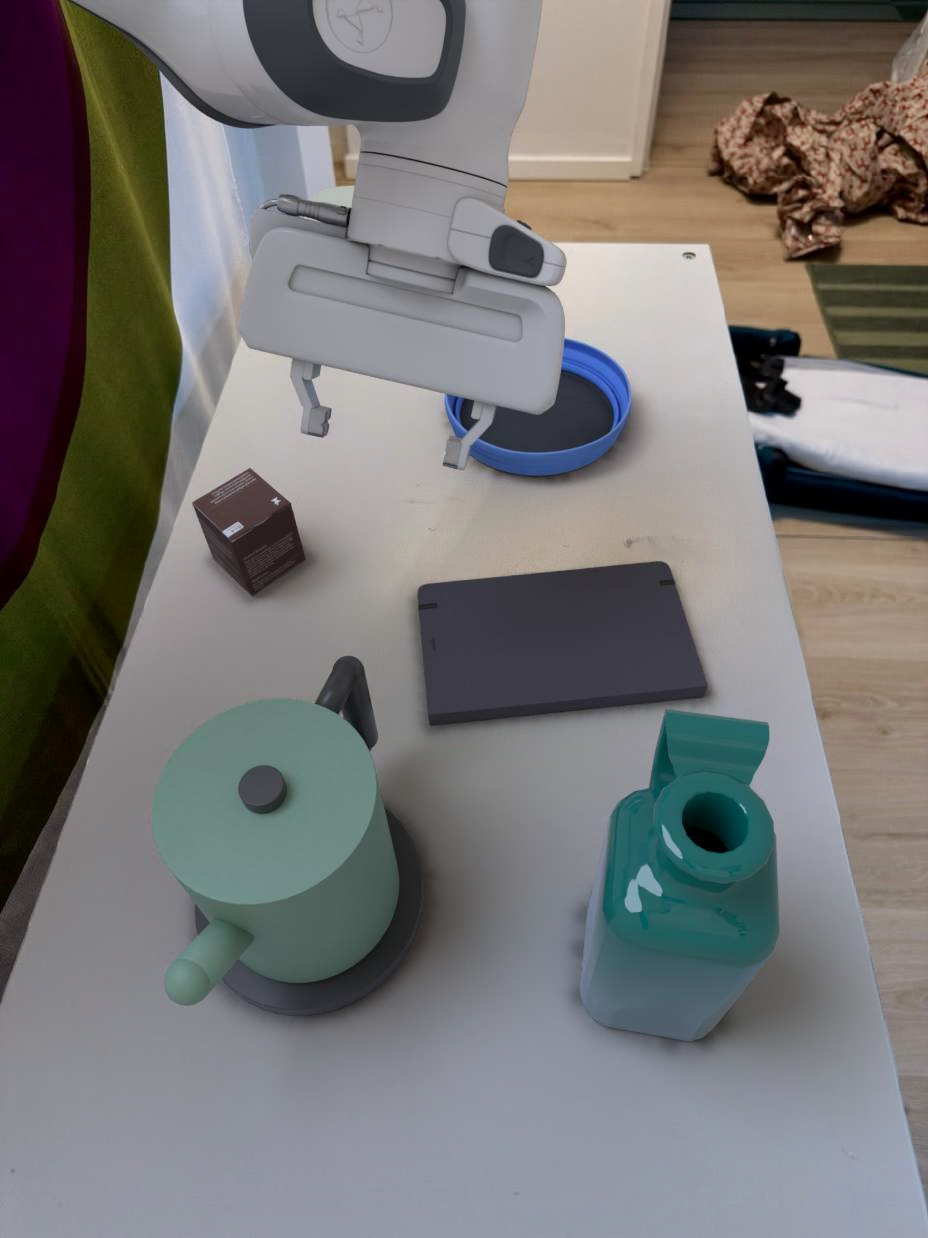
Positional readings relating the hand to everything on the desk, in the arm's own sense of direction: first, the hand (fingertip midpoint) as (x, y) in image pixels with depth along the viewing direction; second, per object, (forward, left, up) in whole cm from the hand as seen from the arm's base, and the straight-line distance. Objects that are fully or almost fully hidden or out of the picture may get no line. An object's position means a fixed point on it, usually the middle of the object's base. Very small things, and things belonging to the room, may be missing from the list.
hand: (384, 450), depth 59 cm
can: (+1, +46, -19) cm, 50 cm away
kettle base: (-10, -21, -19) cm, 30 cm away
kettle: (-9, -21, -18) cm, 29 cm away
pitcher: (+11, -29, -19) cm, 37 cm away
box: (-12, +10, -19) cm, 25 cm away
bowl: (+16, +23, -19) cm, 34 cm away
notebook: (+11, -4, -19) cm, 23 cm away
